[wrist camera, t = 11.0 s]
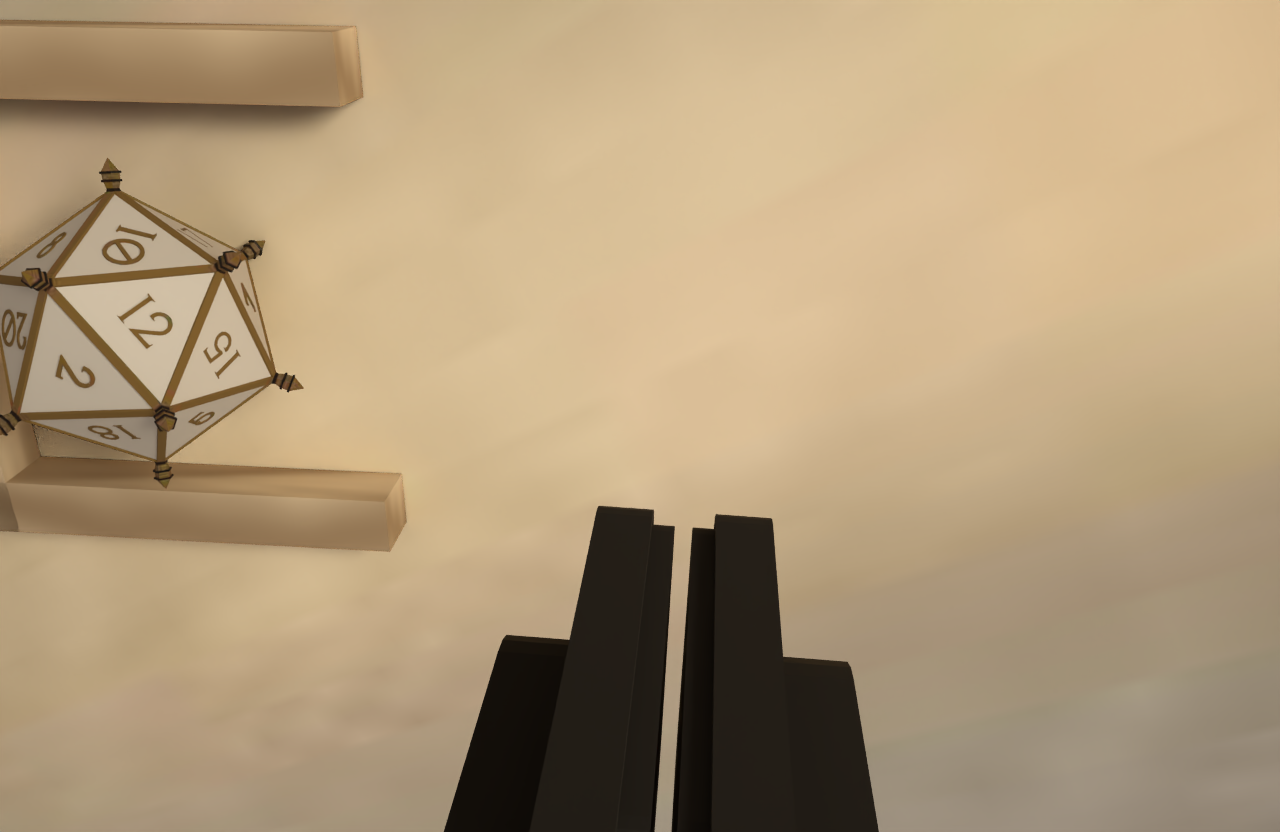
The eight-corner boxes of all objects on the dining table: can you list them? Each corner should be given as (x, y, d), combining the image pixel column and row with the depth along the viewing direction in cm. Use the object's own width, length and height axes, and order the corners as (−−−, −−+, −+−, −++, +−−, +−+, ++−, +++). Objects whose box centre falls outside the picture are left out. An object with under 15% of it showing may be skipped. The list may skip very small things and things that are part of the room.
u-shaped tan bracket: (-142, 17, 31) (-195, 21, 29) (356, 26, 30) (332, 31, 28) (2, 500, 38) (-34, 529, 36) (406, 521, 37) (389, 551, 35)
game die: (227, 300, 38) (-15, 476, 33) (124, 91, 32) (-196, 265, 27) (398, 380, 34) (153, 597, 29) (317, 159, 28) (-14, 380, 23)
